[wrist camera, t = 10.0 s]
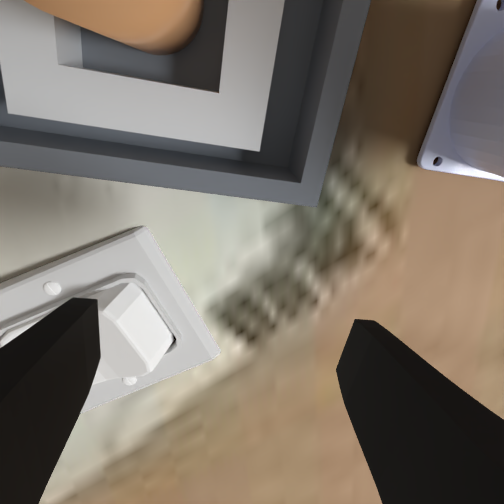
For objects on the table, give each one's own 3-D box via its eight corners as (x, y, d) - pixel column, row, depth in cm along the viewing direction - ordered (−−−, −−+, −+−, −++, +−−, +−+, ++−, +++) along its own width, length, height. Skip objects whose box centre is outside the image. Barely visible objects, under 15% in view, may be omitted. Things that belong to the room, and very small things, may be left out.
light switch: (226, 383, 21) (47, 455, 21) (222, 339, 25) (69, 402, 25) (138, 244, 16) (-93, 342, 16) (149, 215, 20) (-40, 296, 20)
